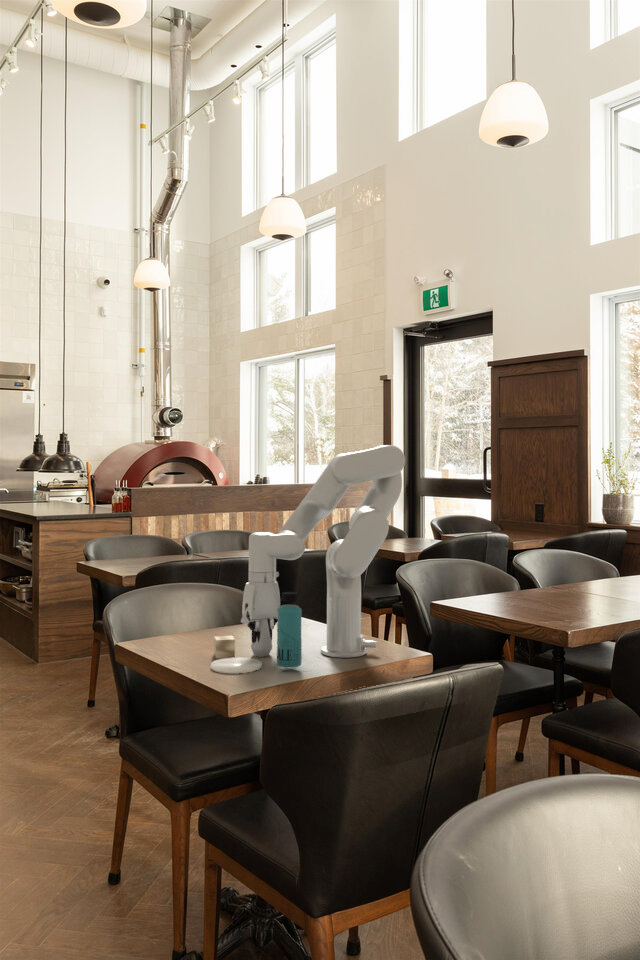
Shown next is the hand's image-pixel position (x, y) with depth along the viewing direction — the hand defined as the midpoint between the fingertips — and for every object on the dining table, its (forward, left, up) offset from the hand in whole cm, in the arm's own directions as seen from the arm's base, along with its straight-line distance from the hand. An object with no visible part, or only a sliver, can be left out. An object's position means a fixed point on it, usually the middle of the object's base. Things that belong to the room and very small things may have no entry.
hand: (261, 643), depth 222 cm
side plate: (+4, +14, -3) cm, 15 cm away
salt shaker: (0, 0, -3) cm, 3 cm away
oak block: (+10, +2, -3) cm, 11 cm away
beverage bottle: (-10, +15, -3) cm, 18 cm away
